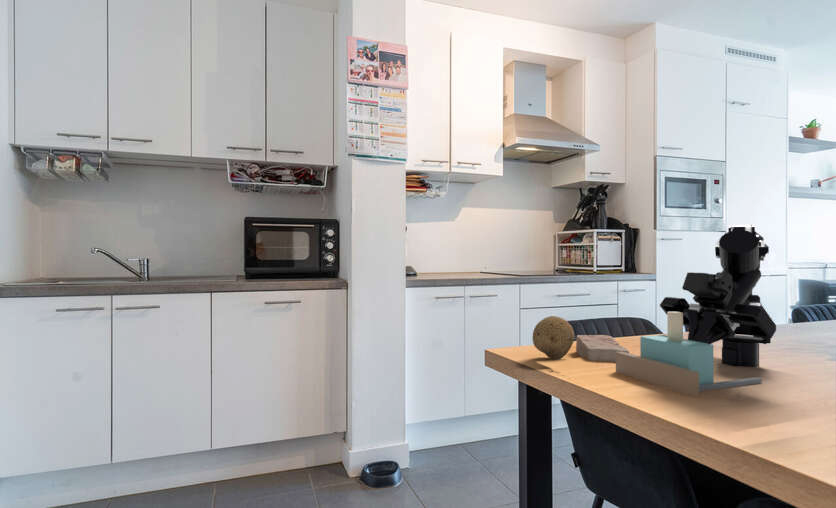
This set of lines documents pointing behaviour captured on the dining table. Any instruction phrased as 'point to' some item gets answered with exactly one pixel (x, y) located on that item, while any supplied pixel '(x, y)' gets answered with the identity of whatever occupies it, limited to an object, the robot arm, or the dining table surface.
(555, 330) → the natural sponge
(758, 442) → the dining table surface
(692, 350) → the dowel block
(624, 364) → the track
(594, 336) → the brick
